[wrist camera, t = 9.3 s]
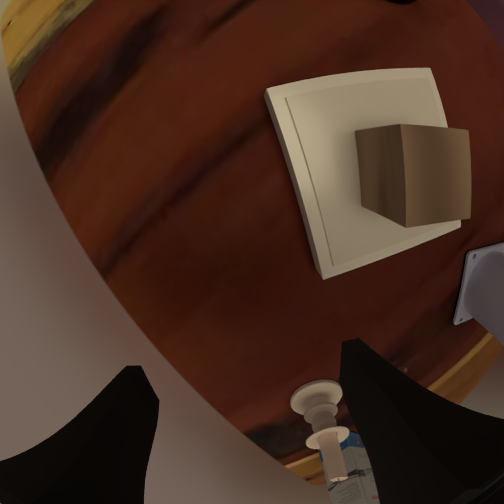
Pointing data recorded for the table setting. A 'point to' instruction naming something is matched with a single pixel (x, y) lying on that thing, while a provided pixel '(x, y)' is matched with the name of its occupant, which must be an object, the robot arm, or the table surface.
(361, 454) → the ink box
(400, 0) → the supplement bottle
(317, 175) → the plate
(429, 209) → the block
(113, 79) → the table surface
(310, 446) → the candle
